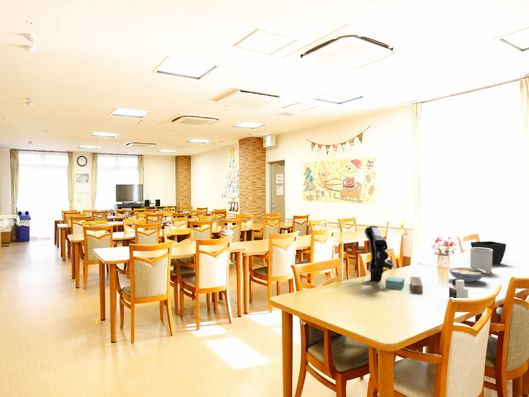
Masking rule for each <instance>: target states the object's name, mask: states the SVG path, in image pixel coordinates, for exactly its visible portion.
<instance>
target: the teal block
mask: <svg viewBox="0 0 529 397" xmlns="http://www.w3.org/2000/svg"><path fill="white" fill-rule="evenodd" d="M384 282H385V288H387V289H397V290H398V289H399V290H403V289H404V286H405V278H403V277H391V276H387V278H386V279H385V281H384Z"/></svg>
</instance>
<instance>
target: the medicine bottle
mask: <svg viewBox="0 0 529 397" xmlns="http://www.w3.org/2000/svg"><path fill="white" fill-rule="evenodd" d="M448 294H449V295H448V299H449V298H450V297H453V298H468V299H469V289H468V288H466V287H465V282H464V280H462V279H457V278H453V279H452V286H449V287H448Z"/></svg>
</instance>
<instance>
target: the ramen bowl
mask: <svg viewBox="0 0 529 397" xmlns="http://www.w3.org/2000/svg"><path fill="white" fill-rule="evenodd" d="M471 267H472V266H454V267H453V266H452V267H449V268H448V271H449V273H450V275H451V276H452V277H454V279H462V280H464V283H473V282H476V281H479V280H481V279H483V278H484V277H485V275H488V274H487V273H486V271H484V270H482V269H477V268H474V267H472V268H471Z"/></svg>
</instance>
